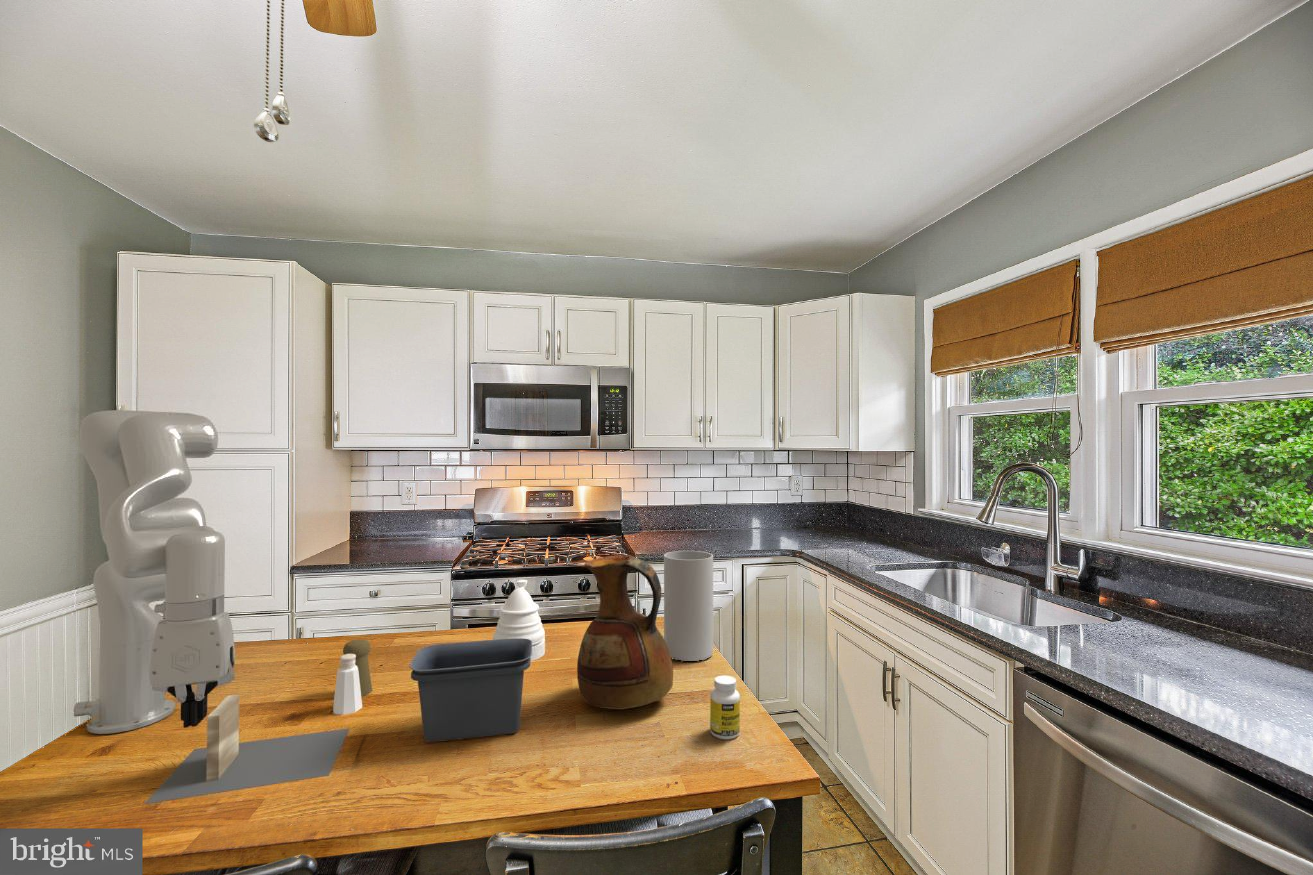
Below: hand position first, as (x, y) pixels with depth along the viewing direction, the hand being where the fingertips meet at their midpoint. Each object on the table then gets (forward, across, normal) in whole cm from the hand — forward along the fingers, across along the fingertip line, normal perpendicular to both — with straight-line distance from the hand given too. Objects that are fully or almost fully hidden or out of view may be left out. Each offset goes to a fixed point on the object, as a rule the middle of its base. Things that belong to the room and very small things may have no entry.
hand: (194, 723), depth 92 cm
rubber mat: (+8, +9, 0) cm, 12 cm away
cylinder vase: (+9, +95, +26) cm, 99 cm away
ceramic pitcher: (+9, +73, +6) cm, 74 cm away
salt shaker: (+8, +19, +17) cm, 27 cm away
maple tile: (+8, +4, 0) cm, 9 cm away
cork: (+8, +19, +26) cm, 33 cm away
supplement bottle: (+9, +87, -13) cm, 89 cm away
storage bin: (+9, +43, +3) cm, 44 cm away
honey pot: (+8, +54, +40) cm, 67 cm away
